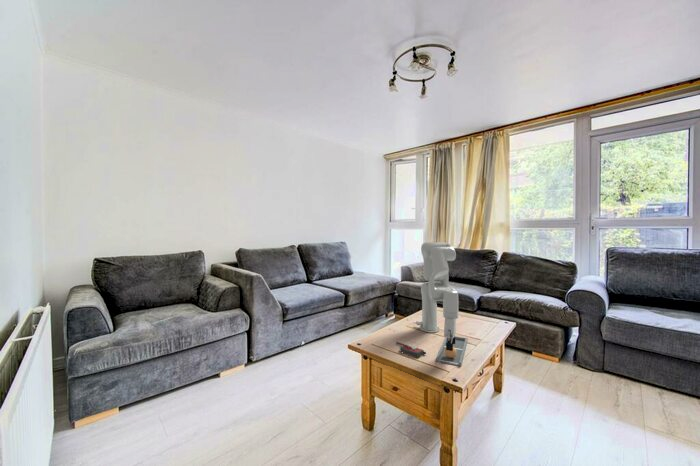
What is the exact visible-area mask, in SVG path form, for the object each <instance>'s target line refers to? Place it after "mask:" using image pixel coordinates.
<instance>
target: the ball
mask: <svg viewBox="0 0 700 466" xmlns="http://www.w3.org/2000/svg"><path fill="white" fill-rule="evenodd" d="M444 352H445V355H446V356H447V357H448V358H454V357H455V356H456V353H457V352H456V349H455V348H454V347H453V351H449V350H446V348H445V350H444Z"/></svg>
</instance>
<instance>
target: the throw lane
mask: <svg viewBox="0 0 700 466" xmlns="http://www.w3.org/2000/svg"><path fill="white" fill-rule="evenodd" d="M446 339H447V336H446V337H444V340H443V342H442V344H441V346H440V349H439V350H438V353H437V355H436V359H435V360H436V361H435V362H436V363H442V364H446V365H450V366H456V367H462V366H463V365H462V364H463V361H464V357H465V353H466V348H467V346H468V345H467V344H468V338H467V337H462V336H456V335H455V344H453V347H454V348H455V349H456V352H457V353H456V356H455V357H454V358H448V357H447V356H446V355H445V352H444V350H445V348H446Z"/></svg>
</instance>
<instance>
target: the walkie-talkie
mask: <svg viewBox="0 0 700 466" xmlns="http://www.w3.org/2000/svg"><path fill="white" fill-rule="evenodd" d="M395 344H396V345H400V348H399V350H400V353H401V352H403V353H402V354H404V353H405V355H407V354H408V356H410V355H411V356H410V357H413V358H417V359H420V358H421V357H423V356H425V355H427V352H426V351H425V350H424V349H422V348H418V346H415V345H413V344H410V343H401V342H399V341H396V342H395Z"/></svg>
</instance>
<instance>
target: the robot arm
mask: <svg viewBox="0 0 700 466" xmlns="http://www.w3.org/2000/svg"><path fill="white" fill-rule="evenodd" d="M420 249H421V251H420V252H421V255H422V258H423V278H424V280H425V281H427V282H423V283H422V284H420V285H421V286H420V293H421V303H422V305H421V308H422V309H421V311H422V316H421V320H420V321H418V320H416V321H415V324H416V326H419V330H420V331H422V332H425V333H434V334H435V333H438V332H439V331H440V327H438V305H437V304H438V303H437V302H442V312H443V313H442V317H443V318H444V326H443V327H444V328H443V331H444V332H443V336H444V338H445V337H446V336H447V339H446V350H449V351H453V344H455V336H456V335H457V334H456V333H457V319H459V292H458V291H457V290H456V289H455V288H454V287H451V286H450V287H449V279H450V277H449V272H450V268H449V263H448V262H453V261H455V260H456V258H457V253H456V249H455V248H454V247H453V246H452V245H451V244H450V243H449V242H446V241H445V242H443V241H442V242H438V241H437V242H436V241H434V242H433V241H432V242H429V241H428V242H423V243H422V244H421V247H420Z"/></svg>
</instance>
